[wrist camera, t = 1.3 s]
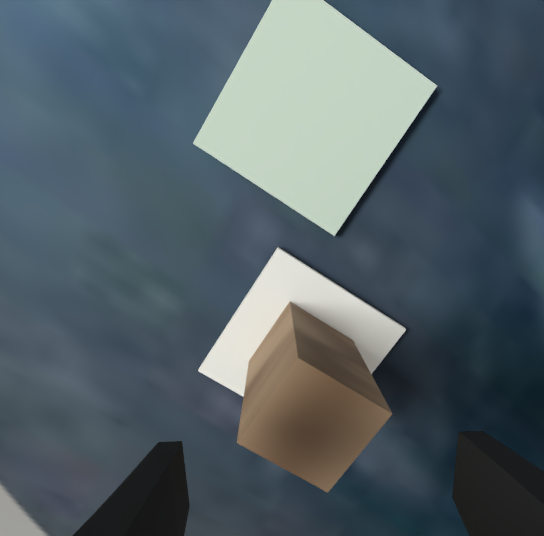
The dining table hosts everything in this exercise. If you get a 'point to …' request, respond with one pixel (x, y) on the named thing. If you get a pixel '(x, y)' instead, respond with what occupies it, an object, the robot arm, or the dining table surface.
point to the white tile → (308, 296)
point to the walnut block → (309, 399)
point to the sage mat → (313, 110)
